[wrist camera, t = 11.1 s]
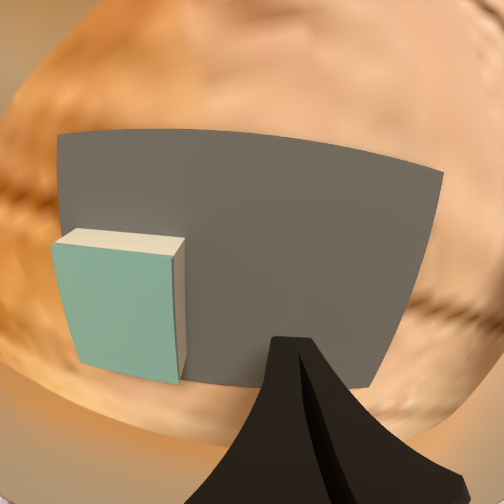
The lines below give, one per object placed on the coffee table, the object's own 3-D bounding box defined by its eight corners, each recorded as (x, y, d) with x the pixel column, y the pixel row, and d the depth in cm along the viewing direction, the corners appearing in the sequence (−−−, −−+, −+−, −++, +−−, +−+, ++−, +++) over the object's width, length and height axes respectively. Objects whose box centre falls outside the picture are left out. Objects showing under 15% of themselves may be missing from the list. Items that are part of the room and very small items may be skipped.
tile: (171, 259, 9) (50, 245, 9) (178, 384, 11) (80, 362, 11) (185, 237, 11) (76, 227, 11) (186, 354, 13) (96, 337, 13)
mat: (438, 170, 10) (443, 172, 10) (367, 382, 14) (368, 387, 14) (62, 134, 9) (57, 134, 9) (92, 355, 14) (90, 360, 14)
